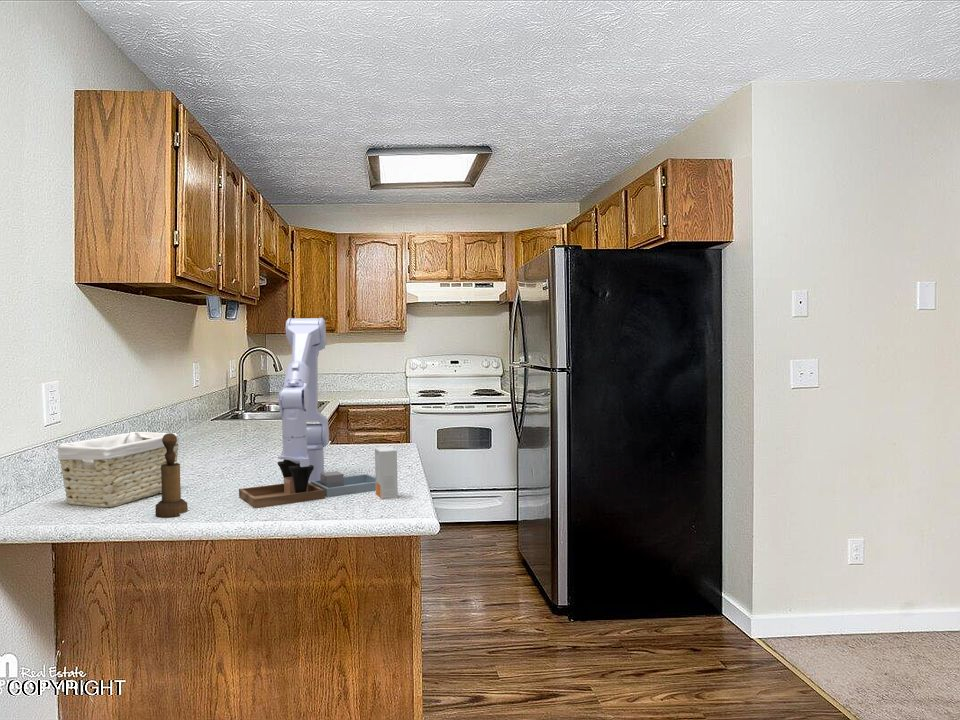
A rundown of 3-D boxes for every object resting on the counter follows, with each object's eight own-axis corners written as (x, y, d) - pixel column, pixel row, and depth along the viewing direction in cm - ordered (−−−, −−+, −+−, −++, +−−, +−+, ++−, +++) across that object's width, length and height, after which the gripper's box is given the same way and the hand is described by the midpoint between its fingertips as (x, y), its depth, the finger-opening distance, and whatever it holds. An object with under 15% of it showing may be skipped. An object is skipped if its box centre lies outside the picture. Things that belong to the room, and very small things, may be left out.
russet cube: (284, 495, 177) (283, 477, 177) (301, 493, 179) (301, 475, 179) (290, 498, 173) (289, 480, 173) (307, 496, 175) (307, 478, 175)
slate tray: (310, 490, 184) (310, 480, 184) (367, 483, 192) (367, 473, 192) (327, 499, 174) (326, 488, 174) (386, 490, 183) (386, 481, 183)
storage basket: (107, 510, 166) (105, 446, 166) (55, 505, 172) (53, 443, 171) (183, 489, 189) (182, 432, 188) (135, 485, 194) (133, 430, 194)
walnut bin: (239, 499, 175) (238, 489, 175) (305, 490, 184) (305, 480, 184) (254, 510, 164) (254, 499, 164) (325, 500, 173) (324, 490, 173)
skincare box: (375, 496, 177) (374, 447, 176) (392, 494, 178) (391, 446, 178) (380, 501, 171) (379, 451, 171) (398, 499, 173) (397, 449, 172)
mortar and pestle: (192, 510, 165) (189, 431, 165) (181, 517, 159) (179, 435, 158) (162, 510, 165) (160, 432, 164) (150, 518, 158) (148, 436, 158)
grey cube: (320, 490, 182) (320, 473, 182) (337, 488, 184) (337, 471, 184) (326, 493, 178) (326, 476, 178) (343, 491, 180) (343, 473, 180)
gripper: (269, 434, 179) (270, 489, 180) (287, 441, 167) (289, 499, 168) (297, 432, 183) (298, 485, 184) (317, 438, 171) (318, 495, 172)
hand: (295, 492), depth 176 cm, fingers open, 7 cm apart
